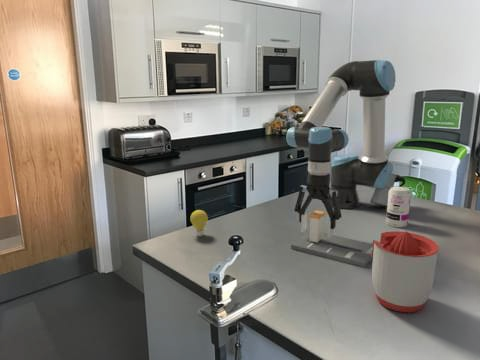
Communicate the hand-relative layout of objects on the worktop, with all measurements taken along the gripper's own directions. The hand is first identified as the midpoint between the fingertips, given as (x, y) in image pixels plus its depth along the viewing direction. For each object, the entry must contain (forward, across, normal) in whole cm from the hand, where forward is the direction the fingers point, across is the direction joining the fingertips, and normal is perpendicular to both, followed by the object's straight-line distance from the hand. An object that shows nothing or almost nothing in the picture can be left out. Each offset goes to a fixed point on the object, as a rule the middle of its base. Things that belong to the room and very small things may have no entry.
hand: (316, 233), depth 141 cm
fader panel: (+4, +7, 0) cm, 8 cm away
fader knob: (+2, 0, 0) cm, 2 cm away
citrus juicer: (+4, +33, -22) cm, 40 cm away
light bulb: (+4, -41, -16) cm, 44 cm away
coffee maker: (+3, +8, +53) cm, 54 cm away
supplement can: (+4, +19, +36) cm, 41 cm away
